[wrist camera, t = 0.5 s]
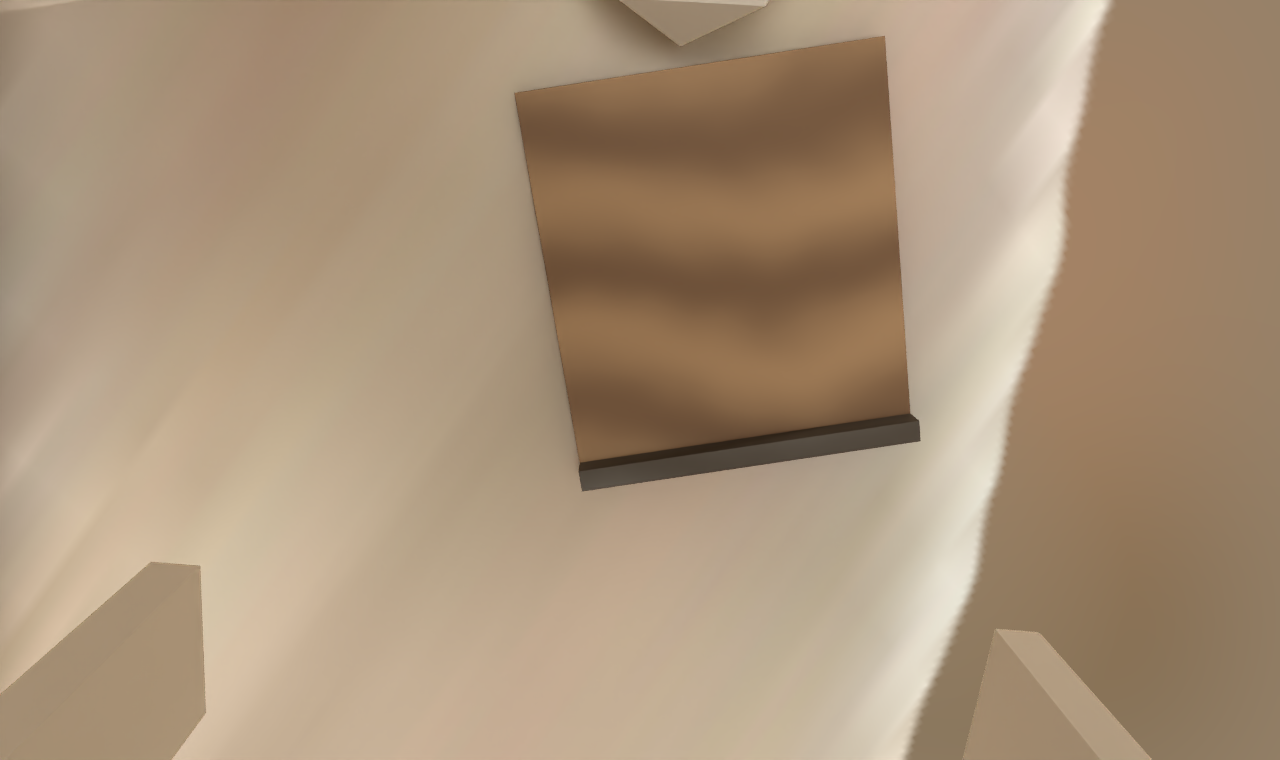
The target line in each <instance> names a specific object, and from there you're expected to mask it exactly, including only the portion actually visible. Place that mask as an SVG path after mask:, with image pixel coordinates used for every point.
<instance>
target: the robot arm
mask: <svg viewBox="0 0 1280 760" xmlns="http://www.w3.org/2000/svg"><path fill="white" fill-rule="evenodd" d="M205 713H206V704H205V678H204V652H203V626H202V600H201V574H200V566H196V565H183V564H170V563H158V562H150V563H149V564H148V565H147V566H146V567H145V568H144V569H142V570H141V571H140V572H139V573H138V574H137V575H136V576H134V577H133V578H132V579H131V580H130V581H129V582H128V583H126V584H125V585H124V586H123V587H122V588H121V589H120V590H119V591H117V592H116V593H115V594H114V595H113V596H112V597H111V598H109V599H108V600H107V601H106V602H105V603H104V604H103V605H101V606H100V607H99V608H98V609H97V610H96V611H95V612H93V613H92V614H91V615H90V616H89V617H88V618H87V619H86V620H84V621H83V622H82V623H81V624H80V625H79V626H78V627H76V628H75V629H74V630H73V631H72V632H71V633H70V634H68V635H67V636H66V637H65V638H64V639H63V640H62V641H60V642H59V643H58V644H57V645H56V646H55V647H54V648H53V649H51V650H50V651H49V652H48V653H47V654H46V655H45V656H43V657H42V658H41V659H40V660H39V661H38V662H37V663H35V664H34V665H33V666H32V667H31V668H30V669H29V670H27V671H26V672H25V673H24V674H23V675H22V676H21V677H20V678H18V679H17V680H16V681H15V682H14V683H13V684H12V685H10V686H9V687H8V688H7V689H6V690H5V691H4V692H2V693H1V694H0V760H172V758H173V757H174V756H175V754H176V753H177V752H178V750H179V749H180V748H181V746H182V745H183V743H184V742H185V741H186V739H187V738H188V737H189V735H190V734H191V732H192V731H193V730H194V728H195V727H196V726H197V724H198V723H199V722H200V720H201V719H202V717H203V716H204V715H205ZM963 760H1152V759H1151V758H1150V757H1149V756H1148V754H1147V753H1146V752H1145V751H1144V750H1143V749H1142V748H1141V747H1140V745H1139V744H1138V743H1137V742H1136V741H1135V740H1134V739H1133V738H1132V736H1131V735H1130V734H1129V733H1128V732H1127V731H1126V730H1125V729H1124V727H1123V726H1122V725H1121V724H1120V723H1119V722H1118V721H1117V720H1116V719H1115V717H1114V716H1113V715H1112V714H1111V713H1110V712H1109V711H1108V709H1107V708H1106V707H1105V706H1104V705H1103V704H1102V703H1101V701H1100V700H1099V699H1098V698H1097V697H1096V696H1095V695H1094V694H1093V693H1092V691H1091V690H1090V689H1089V688H1088V687H1087V686H1086V685H1085V684H1084V683H1083V681H1082V680H1081V679H1080V678H1079V677H1078V676H1077V675H1076V673H1075V672H1074V671H1073V670H1072V669H1071V668H1070V667H1069V665H1068V664H1067V663H1066V662H1065V661H1064V660H1063V659H1062V658H1061V656H1060V655H1059V654H1058V653H1057V652H1056V651H1055V650H1054V649H1053V647H1052V646H1051V645H1050V644H1049V643H1048V642H1047V641H1046V640H1045V639H1044V637H1043V636H1042V635H1041V634H1040V633H1039V632H1029V631H1015V630H1003V629H995V632H994V636H993V640H992V644H991V648H990V652H989V656H988V661H987V664H986V669H985V672H984V676H983V680H982V684H981V689H980V693H979V696H978V700H977V704H976V709H975V712H974V716H973V721H972V724H971V729H970V732H969V736H968V740H967V745H966V749H965V753H964V757H963Z"/></svg>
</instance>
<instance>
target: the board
mask: <svg viewBox="0 0 1280 760" xmlns="http://www.w3.org/2000/svg"><path fill="white" fill-rule="evenodd" d="M515 99H516V104H517V110H518V116H519V121H520V127H521V133H522V138H523V144H524V150H525V155H526V161H527V167H528V172H529V178H530V184H531V189H532V195H533V201H534V206H535V212H536V218H537V223H538V229H539V235H540V240H541V246H542V251H543V257H544V263H545V268H546V274H547V280H548V285H549V291H550V297H551V302H552V308H553V314H554V319H555V325H556V331H557V336H558V342H559V348H560V353H561V359H562V365H563V370H564V376H565V382H566V387H567V393H568V399H569V404H570V410H571V416H572V421H573V427H574V433H575V438H576V444H577V450H578V455H579V461H580V465H579V476H580V482H581V488H582V491H588V490H595V489H601V488H608V487H615V486H622V485H628V484H635V483H642V482H648V481H655V480H662V479H669V478H675V477H682V476H689V475H696V474H702V473H709V472H716V471H722V470H729V469H736V468H743V467H749V466H756V465H763V464H770V463H776V462H783V461H790V460H796V459H803V458H810V457H817V456H823V455H830V454H837V453H844V452H850V451H857V450H864V449H870V448H877V447H884V446H891V445H897V444H904V443H911V442H918V441H920V427H919V420H917V419H916V418H915V417H914V416H913V415H911V414H910V404H909V389H908V374H907V359H906V344H905V329H904V314H903V299H902V284H901V270H900V255H899V240H898V225H897V210H896V195H895V180H894V165H893V150H892V136H891V121H890V106H889V91H888V76H887V61H886V46H885V36H882V37H875V38H869V39H862V40H856V41H849V42H843V43H836V44H830V45H823V46H817V47H810V48H804V49H798V50H791V51H785V52H778V53H772V54H765V55H759V56H752V57H746V58H739V59H733V60H726V61H720V62H713V63H707V64H700V65H694V66H687V67H681V68H674V69H668V70H661V71H655V72H648V73H642V74H635V75H629V76H622V77H616V78H609V79H603V80H596V81H590V82H583V83H577V84H570V85H564V86H557V87H551V88H544V89H538V90H531V91H525V92H518V93H515Z"/></svg>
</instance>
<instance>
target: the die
mask: <svg viewBox="0 0 1280 760" xmlns="http://www.w3.org/2000/svg"><path fill="white" fill-rule="evenodd" d="M620 1H621V2H622V3H624V4H625V5H626V6H628V7H629V8H630V9H631V10H633V11H634V12H635V13H637V14H638V15H639V16H641V17H642V18H643V19H645V20H646V21H647V22H649V23H650V24H651V25H652V26H654V27H655V28H656V29H658V30H659V31H660V32H662V33H663V34H664V35H666V36H667V37H668V38H670V39H671V40H672V41H673V42H675V43H676V44H677V45H679V46H680V47H681V46H683V45H685V44H687V43H690V42H692V41H694V40H696V39H698V38H700V37H702V36H704V35H706V34H708V33H711V32H713V31H715V30H717V29H719V28H721V27H723V26H725V25H727V24H729V23H732V22H734V21H736V20H738V19H740V18H742V17H744V16H746V15H748V14H750V13H753V12H755V11H757V10H759V9H761V8H763V7H765V6H766V5H767V4H768V2H769V1H770V0H620Z"/></svg>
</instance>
